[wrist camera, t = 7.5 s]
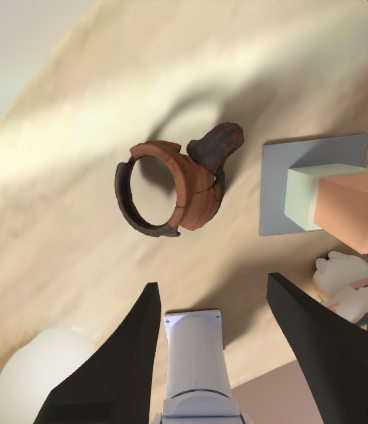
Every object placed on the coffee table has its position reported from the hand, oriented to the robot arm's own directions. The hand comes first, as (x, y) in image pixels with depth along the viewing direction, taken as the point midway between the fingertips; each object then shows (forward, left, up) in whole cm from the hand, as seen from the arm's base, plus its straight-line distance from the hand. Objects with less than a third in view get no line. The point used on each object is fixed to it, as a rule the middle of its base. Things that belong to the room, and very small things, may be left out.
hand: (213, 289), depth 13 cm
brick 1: (+3, -12, -10) cm, 16 cm away
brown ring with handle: (+6, +1, -11) cm, 12 cm away
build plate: (+3, -12, -10) cm, 16 cm away
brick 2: (+3, -12, -6) cm, 14 cm away
